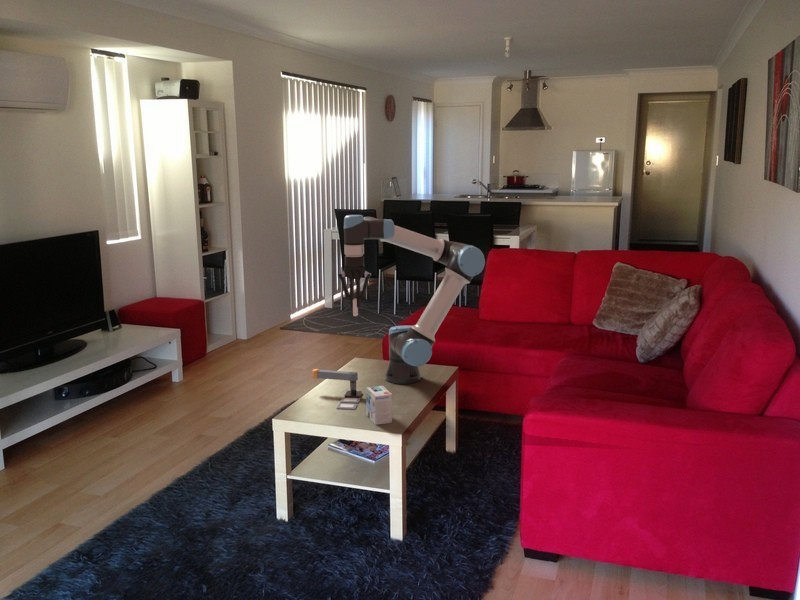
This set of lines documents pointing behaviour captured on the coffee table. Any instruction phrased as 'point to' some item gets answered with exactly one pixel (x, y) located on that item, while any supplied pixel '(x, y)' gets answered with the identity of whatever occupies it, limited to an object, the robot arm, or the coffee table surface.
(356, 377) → the cable arm
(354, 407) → the label
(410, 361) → the robot arm
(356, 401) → the label
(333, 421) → the coffee table surface
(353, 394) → the post
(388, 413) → the light bulb box
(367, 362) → the coffee table surface
